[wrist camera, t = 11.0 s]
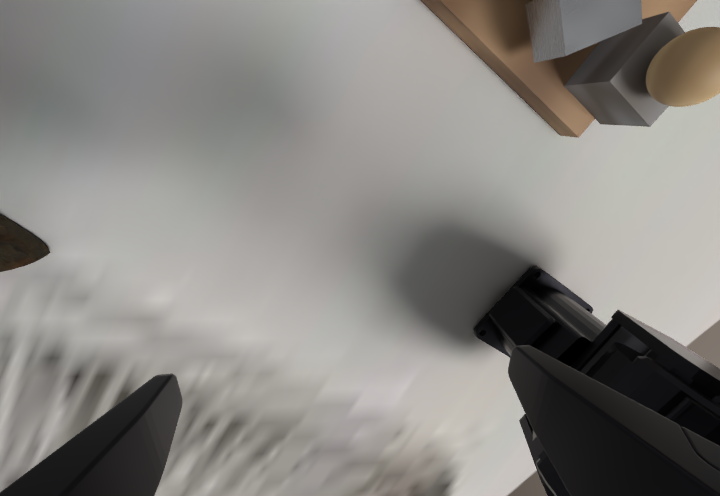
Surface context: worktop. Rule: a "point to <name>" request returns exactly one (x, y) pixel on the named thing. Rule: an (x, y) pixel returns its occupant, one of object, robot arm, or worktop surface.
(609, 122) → the tan wooden panel
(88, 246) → the worktop surface
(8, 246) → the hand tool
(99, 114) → the worktop surface
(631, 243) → the worktop surface
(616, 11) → the lever
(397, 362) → the worktop surface
